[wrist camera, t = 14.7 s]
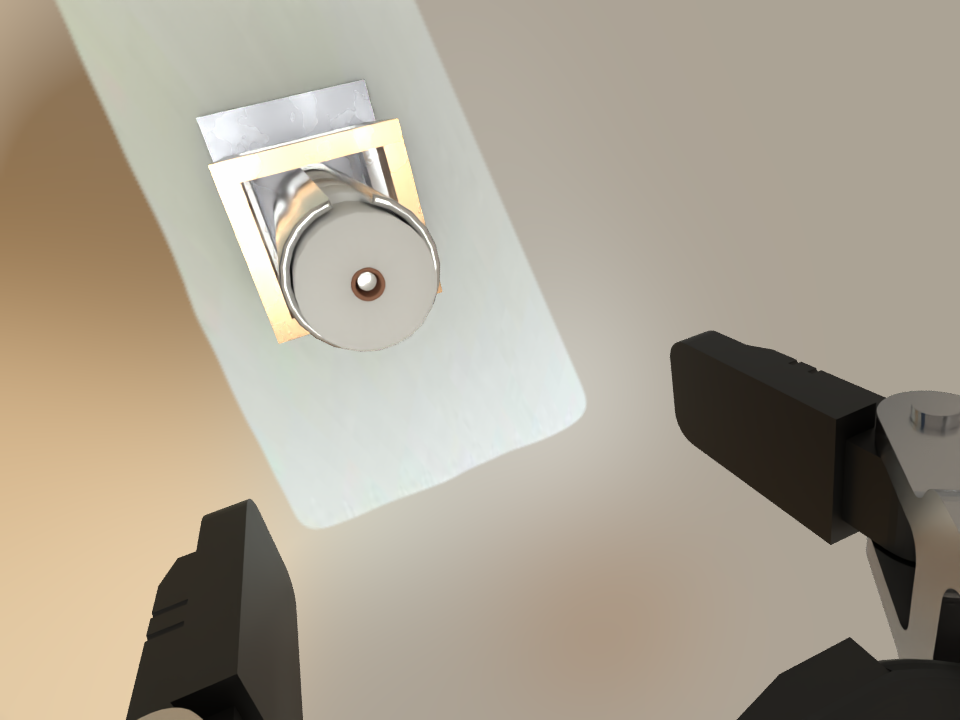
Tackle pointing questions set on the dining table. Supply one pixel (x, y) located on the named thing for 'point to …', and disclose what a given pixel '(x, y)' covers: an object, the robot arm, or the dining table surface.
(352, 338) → the grey cylinder
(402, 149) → the collar stand
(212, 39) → the dining table surface
